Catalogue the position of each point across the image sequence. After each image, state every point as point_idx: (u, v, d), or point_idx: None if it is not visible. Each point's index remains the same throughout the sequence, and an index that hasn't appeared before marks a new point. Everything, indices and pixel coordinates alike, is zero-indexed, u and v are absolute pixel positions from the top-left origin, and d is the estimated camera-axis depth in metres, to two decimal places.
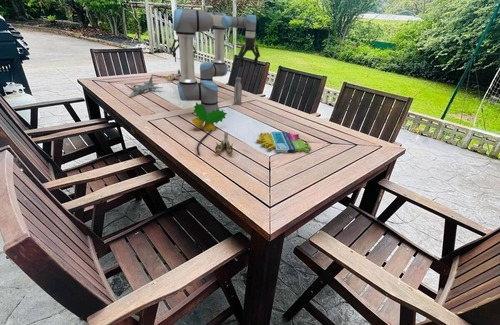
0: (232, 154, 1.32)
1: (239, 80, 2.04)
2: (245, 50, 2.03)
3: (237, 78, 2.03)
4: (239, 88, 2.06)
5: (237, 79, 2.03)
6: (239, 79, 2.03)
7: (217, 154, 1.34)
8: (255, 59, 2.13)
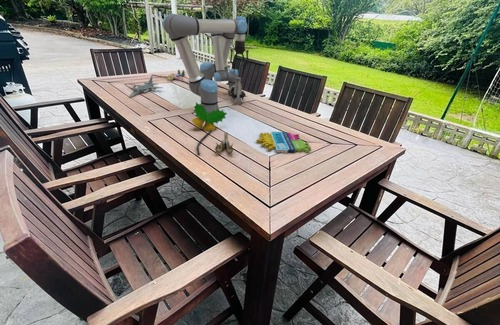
0: (232, 154, 1.32)
1: (239, 80, 2.04)
2: None
3: (237, 78, 2.03)
4: (239, 88, 2.06)
5: (237, 79, 2.03)
6: (239, 79, 2.03)
7: (217, 154, 1.34)
8: None
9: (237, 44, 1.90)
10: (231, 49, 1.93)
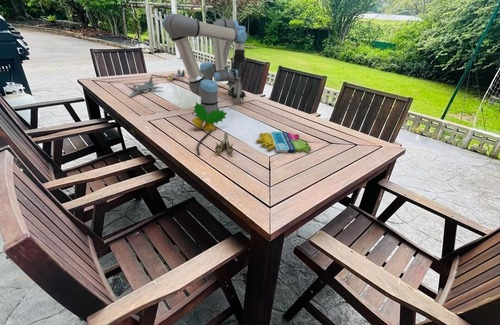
0: (232, 154, 1.32)
1: (239, 80, 2.04)
2: None
3: (237, 78, 2.03)
4: (239, 88, 2.06)
5: (237, 79, 2.03)
6: (239, 79, 2.03)
7: (217, 154, 1.34)
8: None
9: (237, 53, 1.93)
10: (231, 58, 1.96)
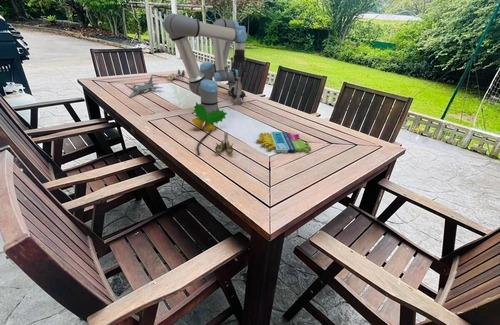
0: (232, 154, 1.32)
1: None
2: None
3: None
4: (239, 88, 2.06)
5: None
6: (240, 78, 2.06)
7: (217, 154, 1.34)
8: None
9: (237, 53, 1.93)
10: (231, 58, 1.96)
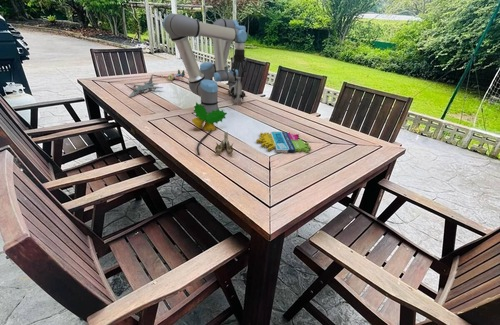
0: (232, 154, 1.32)
1: None
2: None
3: (237, 77, 2.06)
4: (239, 88, 2.06)
5: None
6: (236, 78, 2.06)
7: (217, 154, 1.34)
8: None
9: (237, 52, 1.93)
10: (231, 58, 1.96)
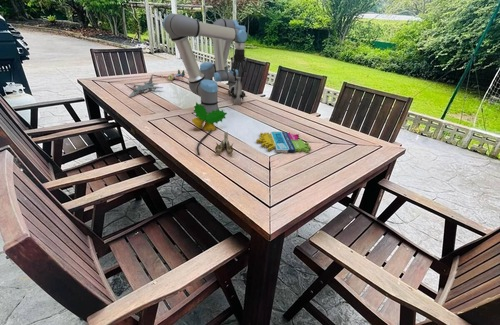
0: (232, 154, 1.32)
1: (238, 80, 2.03)
2: None
3: (236, 77, 2.03)
4: (239, 88, 2.06)
5: (236, 78, 2.03)
6: (238, 79, 2.03)
7: (217, 154, 1.34)
8: None
9: (237, 52, 1.93)
10: (231, 58, 1.96)
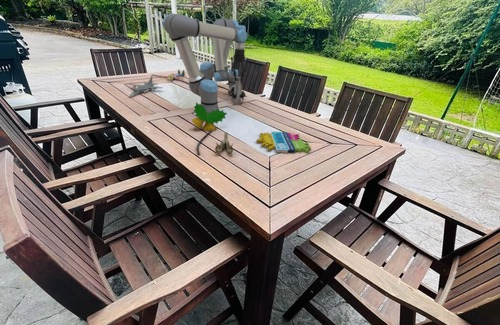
0: (232, 154, 1.32)
1: None
2: None
3: None
4: (239, 88, 2.06)
5: None
6: None
7: (217, 154, 1.34)
8: None
9: (237, 52, 1.93)
10: (231, 57, 1.96)
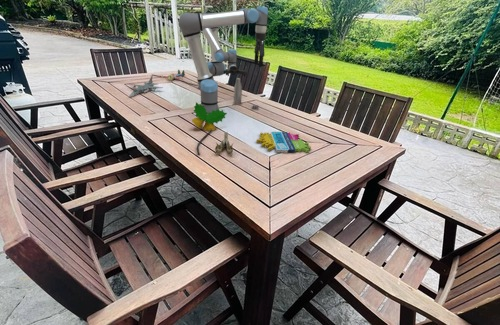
0: (232, 154, 1.32)
1: None
2: None
3: None
4: (239, 88, 2.06)
5: None
6: None
7: (217, 154, 1.34)
8: None
9: (265, 37, 1.81)
10: (263, 41, 1.78)
